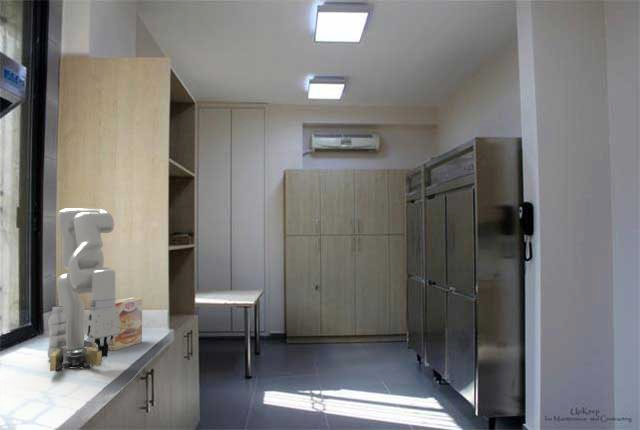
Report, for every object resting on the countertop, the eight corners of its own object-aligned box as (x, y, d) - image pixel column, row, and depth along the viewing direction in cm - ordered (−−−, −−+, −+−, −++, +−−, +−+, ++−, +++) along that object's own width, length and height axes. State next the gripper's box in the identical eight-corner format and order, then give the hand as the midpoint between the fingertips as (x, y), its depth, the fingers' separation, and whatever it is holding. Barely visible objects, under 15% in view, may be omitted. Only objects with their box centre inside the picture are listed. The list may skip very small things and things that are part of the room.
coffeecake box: (115, 350, 176) (115, 303, 177) (102, 349, 179) (103, 302, 180) (142, 342, 190) (143, 297, 191) (130, 340, 193) (130, 297, 194)
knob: (91, 360, 163) (91, 340, 163) (82, 361, 162) (83, 341, 162) (97, 353, 173) (97, 334, 174) (89, 353, 172) (89, 334, 173)
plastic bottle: (71, 357, 168) (72, 305, 169) (55, 362, 162) (56, 308, 162) (59, 355, 170) (59, 304, 171) (43, 360, 164) (43, 307, 165)
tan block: (80, 368, 153) (81, 347, 154) (89, 366, 156) (89, 345, 156) (94, 374, 147) (95, 352, 147) (103, 372, 149) (103, 350, 149)
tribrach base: (56, 368, 154) (57, 353, 154) (81, 360, 163) (81, 346, 164) (74, 371, 151) (74, 356, 151) (98, 363, 160) (98, 348, 160)
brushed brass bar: (54, 369, 153) (55, 348, 153) (63, 368, 154) (64, 347, 154) (47, 379, 142) (48, 356, 143) (57, 378, 143) (57, 355, 144)
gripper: (88, 308, 145) (88, 363, 144) (128, 301, 158) (128, 352, 157) (76, 306, 149) (76, 359, 148) (116, 300, 162) (116, 349, 161)
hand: (103, 355), depth 153 cm, fingers closed
